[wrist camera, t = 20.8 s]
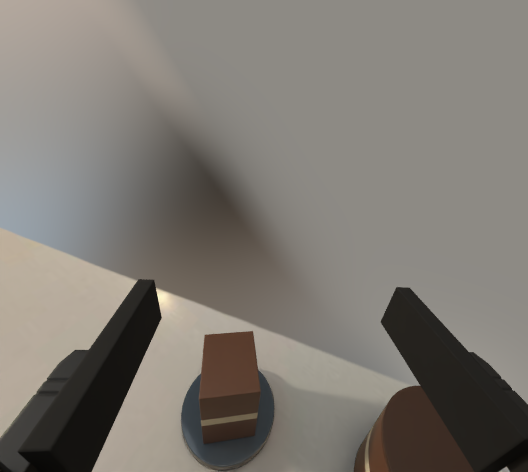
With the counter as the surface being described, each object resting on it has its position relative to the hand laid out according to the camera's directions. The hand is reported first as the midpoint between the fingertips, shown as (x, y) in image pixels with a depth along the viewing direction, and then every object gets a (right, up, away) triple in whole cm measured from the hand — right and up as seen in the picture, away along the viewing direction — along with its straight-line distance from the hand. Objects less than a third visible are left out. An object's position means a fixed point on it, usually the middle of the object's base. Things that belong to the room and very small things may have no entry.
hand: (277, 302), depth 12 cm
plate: (-5, -16, +13) cm, 21 cm away
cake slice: (-5, -15, +12) cm, 20 cm away
